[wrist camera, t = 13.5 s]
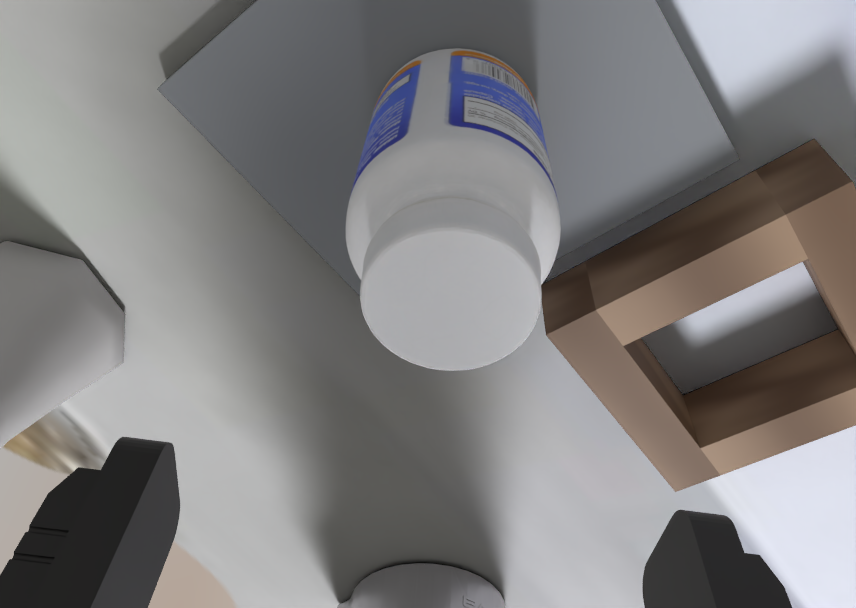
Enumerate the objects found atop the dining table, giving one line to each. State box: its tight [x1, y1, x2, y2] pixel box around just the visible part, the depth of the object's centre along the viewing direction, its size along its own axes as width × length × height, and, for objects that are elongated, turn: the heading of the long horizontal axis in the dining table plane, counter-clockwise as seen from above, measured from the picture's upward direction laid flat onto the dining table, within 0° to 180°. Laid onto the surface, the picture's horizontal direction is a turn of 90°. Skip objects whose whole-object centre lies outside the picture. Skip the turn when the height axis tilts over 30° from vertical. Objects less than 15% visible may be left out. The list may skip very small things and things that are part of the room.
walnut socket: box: [541, 139, 856, 492], centre depth 27 cm, size 11×11×3 cm
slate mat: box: [158, 0, 740, 296], centre depth 23 cm, size 14×13×1 cm
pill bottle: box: [346, 48, 561, 371], centre depth 19 cm, size 5×5×10 cm
